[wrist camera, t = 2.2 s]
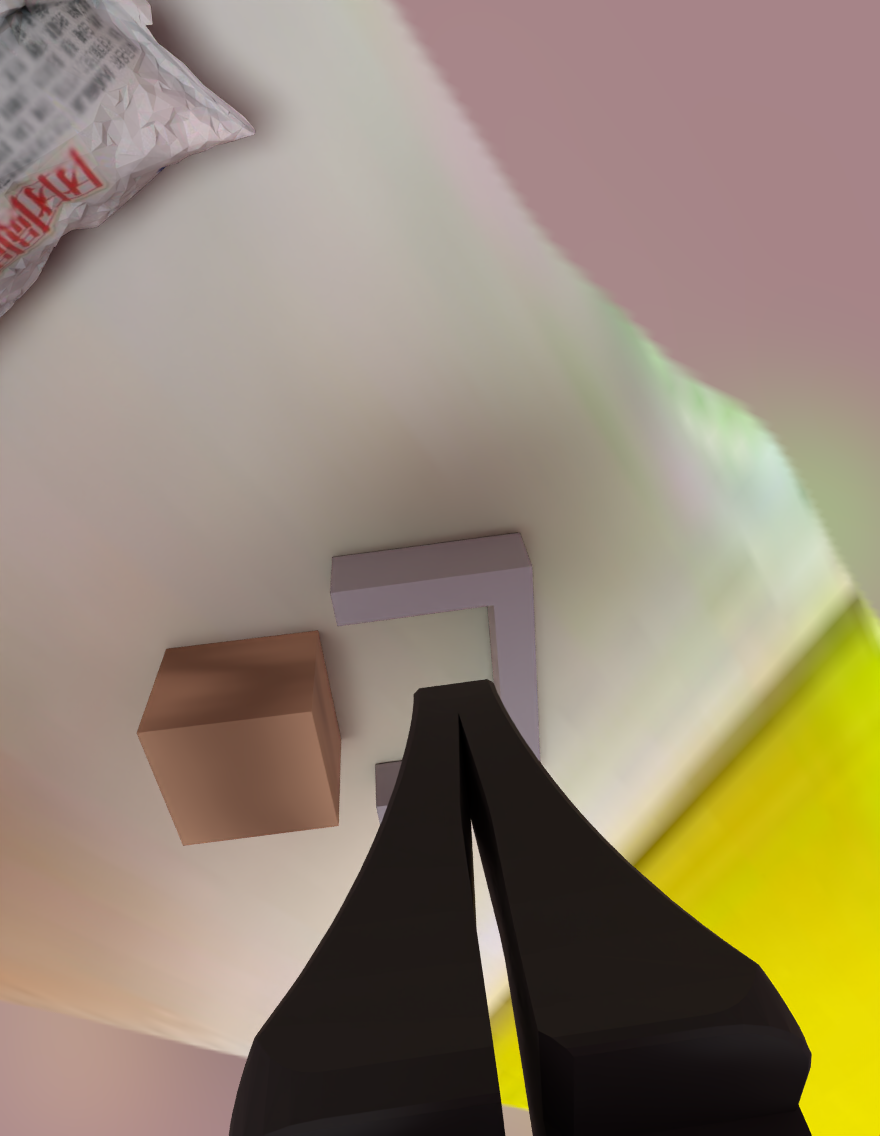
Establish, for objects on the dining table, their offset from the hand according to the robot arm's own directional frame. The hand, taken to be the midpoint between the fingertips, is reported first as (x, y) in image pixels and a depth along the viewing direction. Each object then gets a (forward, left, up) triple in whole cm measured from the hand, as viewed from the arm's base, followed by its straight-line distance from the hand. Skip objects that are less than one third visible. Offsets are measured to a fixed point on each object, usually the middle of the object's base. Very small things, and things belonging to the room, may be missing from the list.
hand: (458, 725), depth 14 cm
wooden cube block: (-6, -7, -11) cm, 15 cm away
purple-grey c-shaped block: (0, -7, -10) cm, 13 cm away
